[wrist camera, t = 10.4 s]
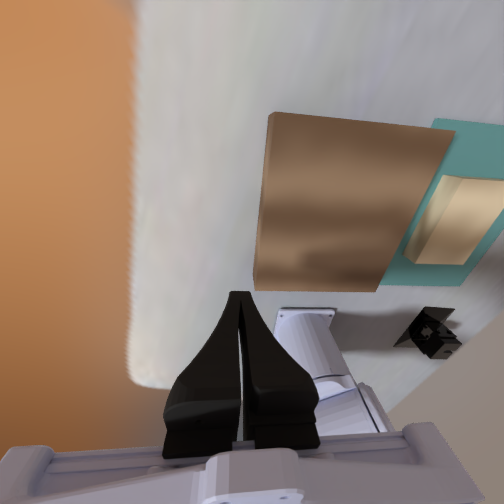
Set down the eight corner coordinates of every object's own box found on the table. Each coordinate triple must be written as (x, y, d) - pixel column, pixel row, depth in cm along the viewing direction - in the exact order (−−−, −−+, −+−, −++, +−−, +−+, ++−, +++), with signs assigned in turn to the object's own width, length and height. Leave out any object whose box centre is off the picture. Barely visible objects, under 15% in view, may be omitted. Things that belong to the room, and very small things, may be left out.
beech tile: (415, 263, 22) (402, 254, 24) (463, 264, 23) (447, 255, 24) (463, 178, 18) (443, 174, 19) (522, 182, 18) (497, 178, 20)
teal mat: (456, 284, 28) (459, 286, 27) (361, 282, 26) (363, 284, 26) (569, 133, 19) (576, 133, 18) (435, 118, 17) (439, 118, 17)
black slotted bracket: (417, 349, 36) (440, 375, 32) (381, 348, 35) (400, 375, 31) (463, 298, 30) (498, 323, 26) (421, 295, 29) (450, 321, 25)
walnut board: (361, 276, 26) (375, 292, 23) (252, 274, 24) (254, 290, 22) (424, 131, 18) (456, 130, 15) (268, 115, 16) (275, 111, 14)
